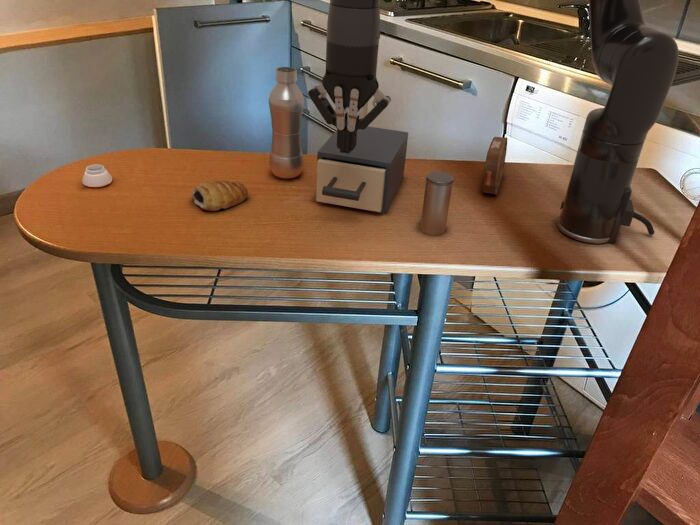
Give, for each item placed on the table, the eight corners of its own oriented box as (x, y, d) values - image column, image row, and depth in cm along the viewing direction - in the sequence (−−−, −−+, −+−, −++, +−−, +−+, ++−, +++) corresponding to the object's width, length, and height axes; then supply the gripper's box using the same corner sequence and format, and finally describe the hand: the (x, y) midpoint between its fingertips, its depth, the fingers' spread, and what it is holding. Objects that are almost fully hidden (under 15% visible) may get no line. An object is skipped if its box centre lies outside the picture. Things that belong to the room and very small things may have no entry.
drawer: (372, 228, 101) (376, 186, 97) (305, 216, 103) (305, 174, 99) (397, 179, 117) (401, 141, 113) (339, 169, 120) (341, 132, 116)
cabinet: (385, 213, 107) (390, 163, 102) (315, 201, 110) (317, 151, 105) (403, 178, 120) (408, 132, 115) (340, 167, 123) (342, 122, 118)
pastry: (236, 188, 112) (235, 168, 110) (255, 202, 108) (255, 182, 106) (188, 200, 107) (186, 180, 105) (207, 216, 103) (205, 195, 101)
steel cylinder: (447, 225, 105) (455, 173, 100) (443, 237, 101) (451, 184, 96) (422, 221, 106) (428, 169, 101) (417, 232, 102) (424, 179, 97)
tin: (494, 202, 113) (502, 159, 109) (477, 198, 114) (484, 156, 110) (504, 171, 126) (512, 132, 121) (488, 169, 126) (495, 129, 122)
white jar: (78, 181, 111) (88, 191, 108) (75, 165, 110) (85, 175, 107) (106, 175, 114) (116, 185, 111) (104, 160, 113) (114, 169, 109)
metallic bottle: (306, 169, 121) (307, 66, 110) (300, 184, 115) (301, 76, 105) (273, 166, 121) (272, 63, 111) (266, 181, 116) (263, 73, 105)
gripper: (300, 37, 87) (298, 153, 96) (392, 49, 84) (381, 167, 94) (317, 27, 93) (313, 137, 102) (403, 38, 91) (391, 149, 100)
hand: (346, 151), depth 98 cm, fingers closed
